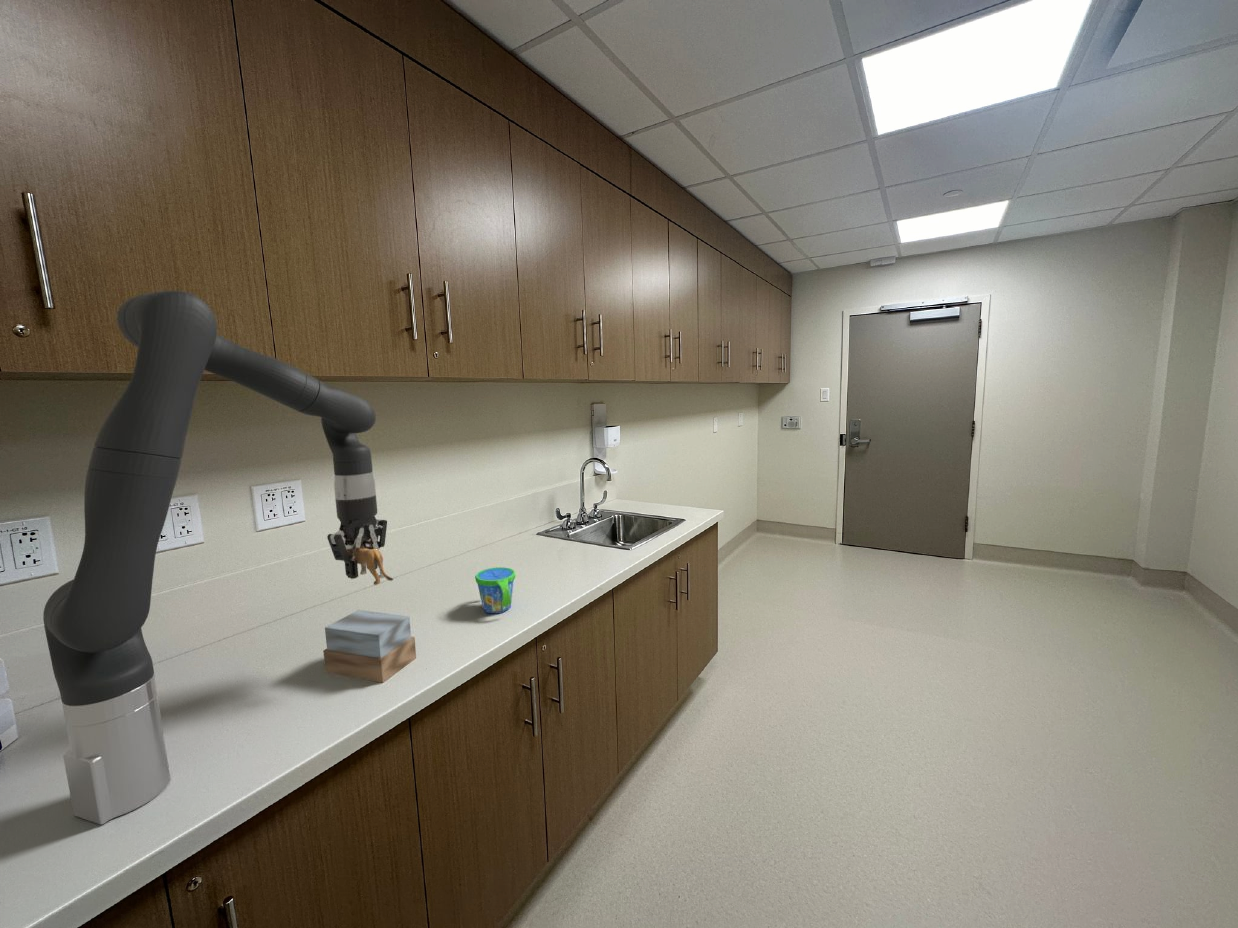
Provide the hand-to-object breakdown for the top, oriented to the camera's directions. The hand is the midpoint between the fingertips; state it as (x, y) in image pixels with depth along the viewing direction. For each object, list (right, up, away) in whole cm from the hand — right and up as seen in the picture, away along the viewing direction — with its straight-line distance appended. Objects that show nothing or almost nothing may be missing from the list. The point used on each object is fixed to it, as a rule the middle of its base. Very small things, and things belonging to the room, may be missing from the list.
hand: (363, 572), depth 104 cm
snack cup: (+21, -17, +31) cm, 41 cm away
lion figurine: (+1, -1, -1) cm, 2 cm away
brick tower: (+1, -21, +3) cm, 21 cm away
